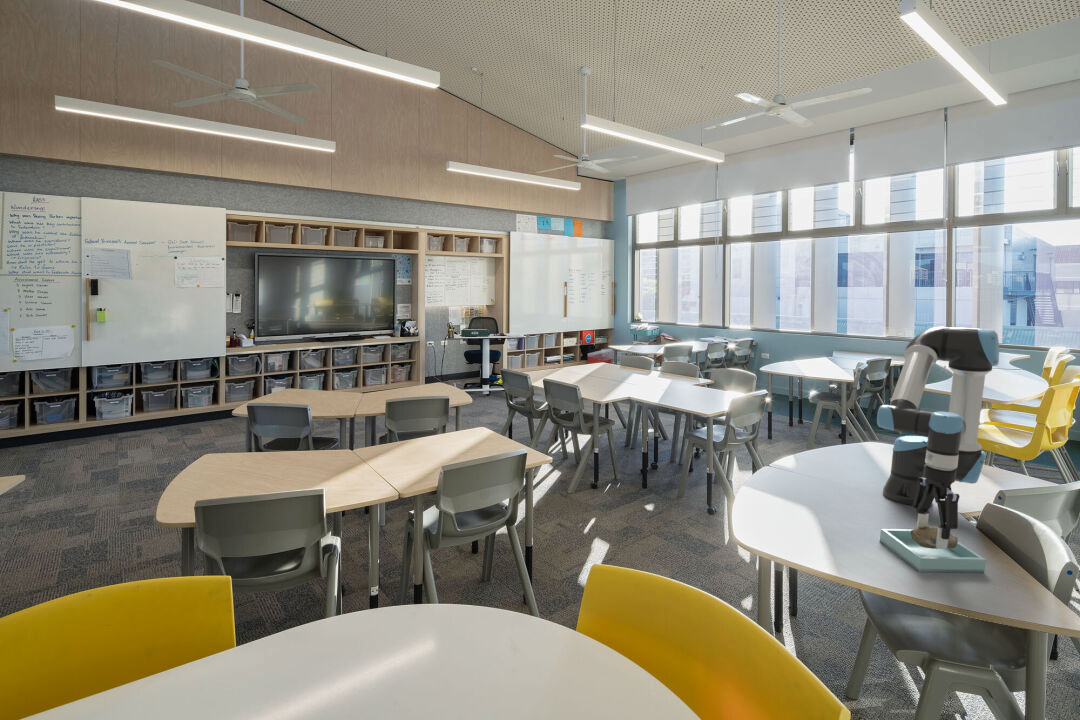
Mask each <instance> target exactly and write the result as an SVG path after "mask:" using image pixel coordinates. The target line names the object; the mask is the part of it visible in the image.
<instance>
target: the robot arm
mask: <svg viewBox="0 0 1080 720" xmlns="http://www.w3.org/2000/svg"><path fill="white" fill-rule="evenodd" d="M999 344H1000V342H999V335H998V333H997V332H996V331H995V330H992V329H985V328H976V327H973V328H972V327H953V326H952V327H950V326H949V327H948V326H936V327H932V328H929V329H927V330H923V331H922V332H921V333H919V334H917V335H916V336H915V337H914V338H913V339H911V340H910V342H908V344H907V345H906V347H905V350H904V352H903V353H904V354H903V358H904V359H905V360H904V364H903V366H902V369H901V370H900V374H899V376H898V380H897V382H896V385H895V387H894V391H893V394H892V397H891V399H890V402H889V404H882V405H880V406H879V407H878V410H877V416H876V424H877V426H878V427H879V428H882V429H885V430H889V431H893V432H894V431H895V432H901V433H908V434H914V435H904V436H898V437H897V438H895V440H894V443H893V447H892V458H891V466H890V467H891V468H890V475H889V477H888V478H887V480H886V482H885V485H884V486H883V488H882V495H883V496H884V497H886V498H888V499H889V500H892V501H894V502H897V503H901V504H903V505H910V506H912V508H913V509H915V511H916V513H917V516H916V528H918V527H929V526H928V525H929V519H930V518H929V516H930V514H929V513H930V511H929V509H930V507H931V505H932V503H933V501H934V502H935V503H936V504H937V509H938V515H939V522H940V525H938V526H937V527H938V532H937V540H936V548H937V549H947V545H948V539H949V537H950V533H951V530H957V529H958V526H959V517H958V516H959V512H958V511H959V501H960V494H959V493H954V492H953V491H952V484H953V483H955V482H959V483H966V484H972V485H973V484H976V483H977V482H978V481H979V479H980V475H981V473H982V469H983V466H984V463H985V460H986V456H987V452H985V451H982V448H983V446H982V444H980V442H978V436H979V427H980V419H981V411H982V403H983V396H984V389H985V388H984V387H985V380H986V375H988V374H989V373H990V372H992V370H993V367H995V366H999V362H1000V361H999V360H1000V345H999ZM938 361H942V362H948V368H949V370H951V371H952V382H951V391H950V398H949V399H950V400H949V406H948V407H949V408H948V411H930V410H923V409H919V407H920V403H921V401H922V396H923V394H924V391H925V388H926V384H927V382H928V379H929V378H928V377H929V375H930V371H931V368H932V366H934V365H936V363H937V362H938Z"/></svg>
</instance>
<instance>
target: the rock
mask: <svg viewBox="0 0 1080 720" xmlns="http://www.w3.org/2000/svg"><path fill="white" fill-rule="evenodd" d="M937 532H938V526H928V527H918V528H913V530H911V536H912V539H913V540H914V541H915V542H916V543H917V544H919V546H922V547H925V548H931V549H934V548H935V549H937V548H936V540H937ZM957 542H959V540H958V537H957V536H955V535H954V534H953V533H952V532H950V537H949V539H948V545H947V548H955V547H956V545H957Z"/></svg>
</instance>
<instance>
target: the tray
mask: <svg viewBox="0 0 1080 720" xmlns="http://www.w3.org/2000/svg"><path fill="white" fill-rule="evenodd" d="M913 529H914V528H913ZM913 529H911V528H909V529H905V528H903V529H902V528H881V529H880V537H879V542H880V543H881V544H883V546H885V547H887V548H888V549H889V550H890V551H892V552H893V553H894V554H895V555H896V556H898V557H900V559H901V560H903V561H905V562H906V563H907V564H908V565H909V566H911V567H912V568H913V569H915V570H916V571H917V572H919V573H961V574H962V573H966V574H975V573H977V574H984V573H985V570H986V569H985V568H986V561H987V559H986V558H985V557H983V556H981V555H979V554H978V553H976V551H974V550H972V549H970V548H969V547H967V546H966V545H964V544H963V543H961V542H959V541H958V542H957V545H956V547H955V548H947V549H935V548H934V549H931V548H925V547H922V546H919V544H917V543H916V542H915V541H914V540H913V539H912V536H911V530H913Z"/></svg>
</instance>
